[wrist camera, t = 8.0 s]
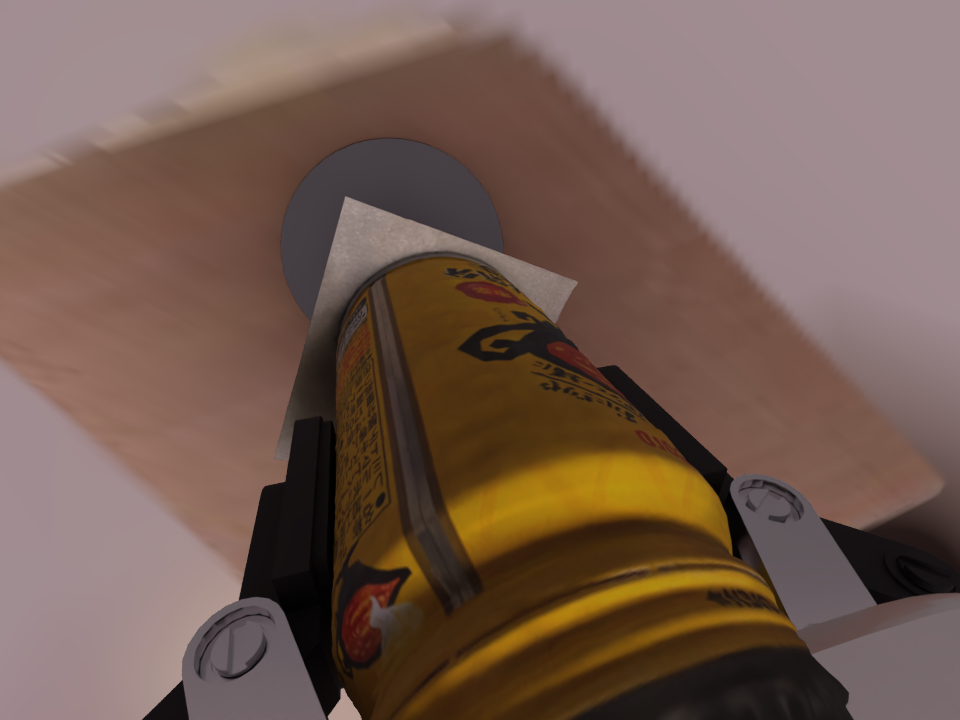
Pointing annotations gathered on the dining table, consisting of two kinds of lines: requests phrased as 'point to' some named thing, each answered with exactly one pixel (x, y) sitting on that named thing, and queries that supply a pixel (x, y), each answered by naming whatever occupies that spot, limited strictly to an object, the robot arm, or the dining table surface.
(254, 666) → the robot arm
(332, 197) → the mat
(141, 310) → the dining table surface
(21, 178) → the dining table surface
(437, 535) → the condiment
